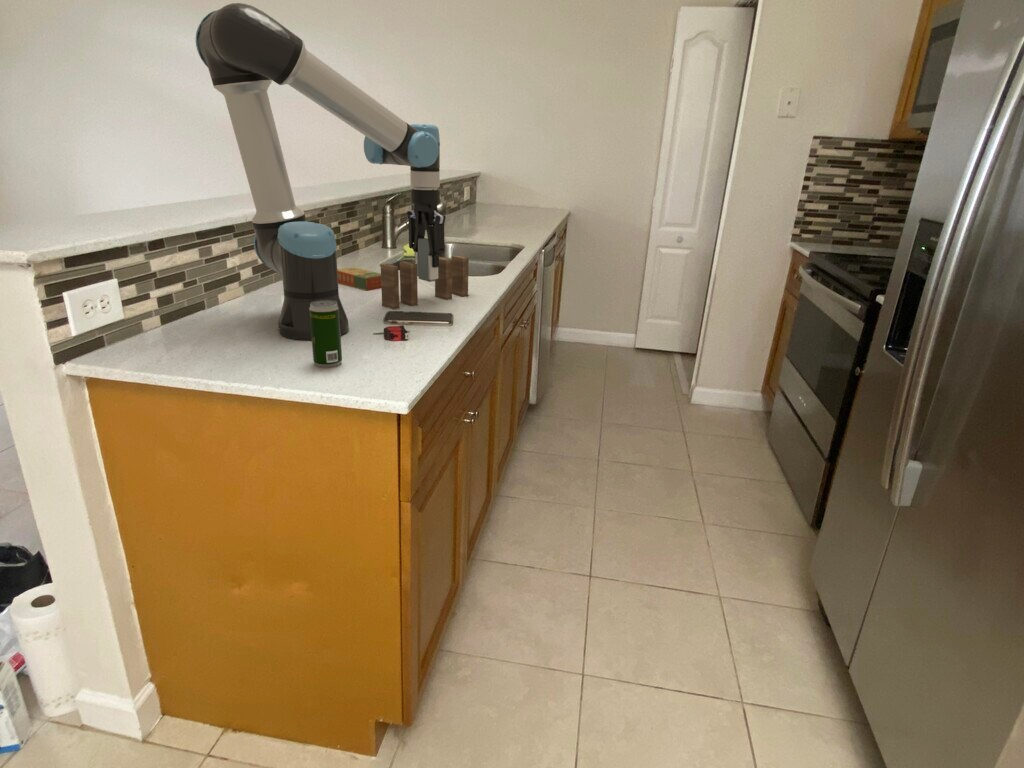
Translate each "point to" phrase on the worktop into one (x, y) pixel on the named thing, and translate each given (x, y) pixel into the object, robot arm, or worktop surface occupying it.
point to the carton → (359, 278)
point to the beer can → (325, 333)
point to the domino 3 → (423, 259)
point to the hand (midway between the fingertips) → (426, 277)
